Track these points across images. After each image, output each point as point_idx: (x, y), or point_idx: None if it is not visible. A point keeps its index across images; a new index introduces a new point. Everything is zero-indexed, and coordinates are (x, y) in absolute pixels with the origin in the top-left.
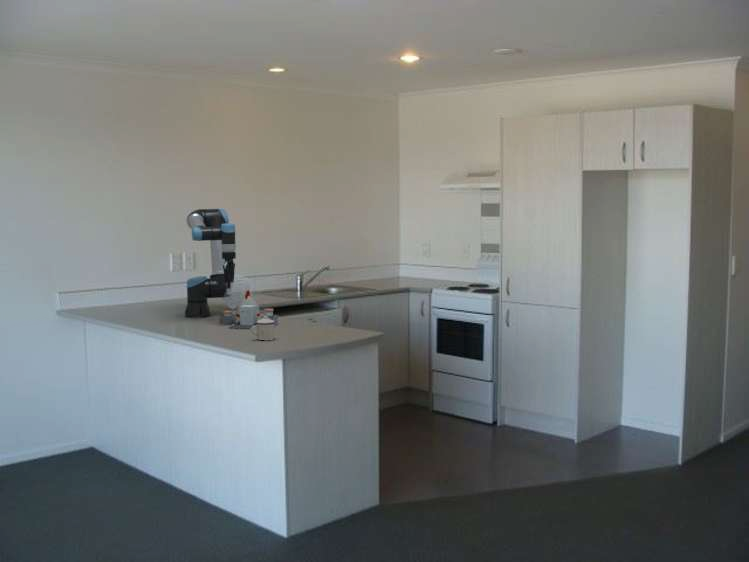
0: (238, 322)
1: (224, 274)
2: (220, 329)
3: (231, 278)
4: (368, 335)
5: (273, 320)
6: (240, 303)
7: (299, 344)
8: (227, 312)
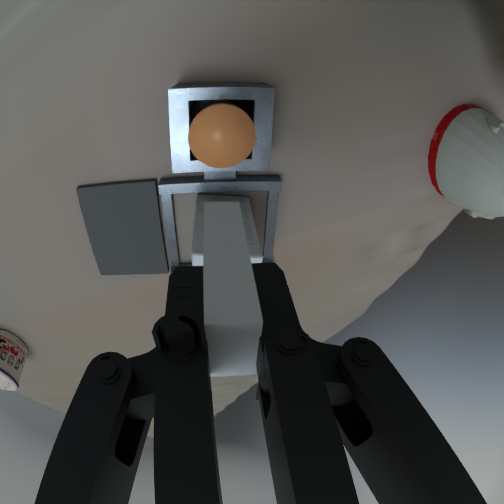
0: (196, 191)
1: (39, 498)
2: (51, 161)
3: (267, 431)
4: (149, 434)
5: (13, 390)
6: (494, 150)
7: (23, 384)
8: (191, 146)
